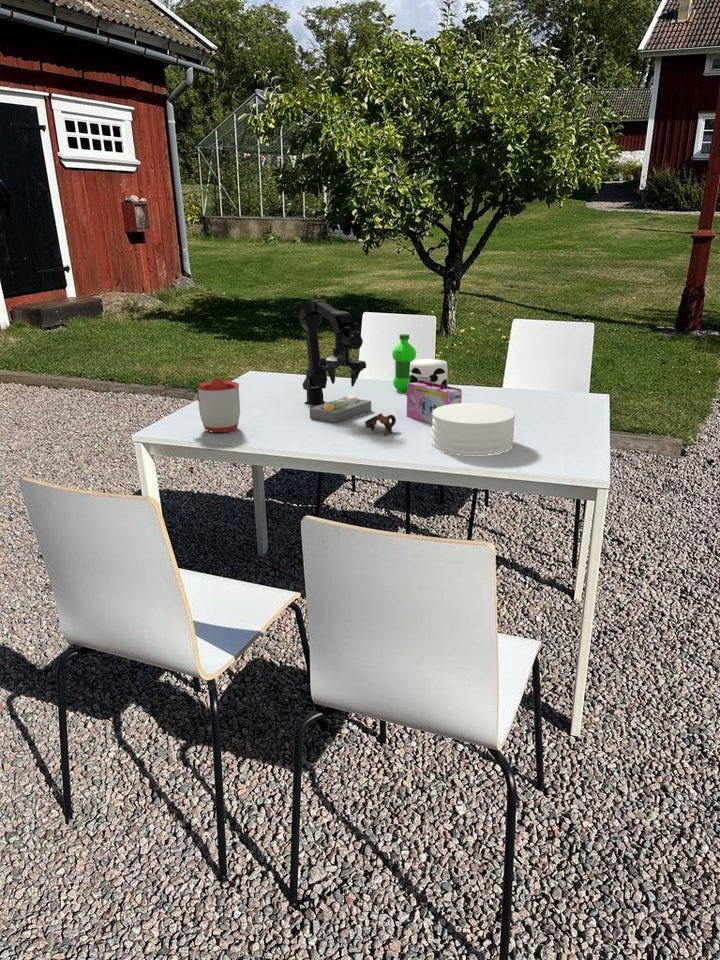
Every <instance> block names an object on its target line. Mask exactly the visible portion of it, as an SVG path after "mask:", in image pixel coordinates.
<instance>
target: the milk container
mask: <svg viewBox="0 0 720 960" xmlns="http://www.w3.org/2000/svg"><path fill="white" fill-rule="evenodd" d="M409 376H410V382H409V383H417V381H418V380H422V381H427V382H431V383H435V384H440V385H444V386H448V363H447V361H446V360H442V359H434V358H424V359H423V358H422V359H421V358H420V359H414V360H413V361H411V362H410V373H409Z"/></svg>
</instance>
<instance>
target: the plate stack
mask: <svg viewBox="0 0 720 960" xmlns="http://www.w3.org/2000/svg"><path fill="white" fill-rule="evenodd" d="M432 416H433V419H432V423H431V424H432V426H431V431H432V432H431V446H432V445H433V446H434V447H435V448H436V449H435V448H434V447H433V446H432V447H433V448H434V449H435V450H437V449H438V450H437V451H439V450H441V451H444V452H447V453H446V454H448V453H452V454H451V455H453V454H460V455H488V454H495V453H500V452H503V451H506V450H508V449H510V448H511V447H512V446H513V447H514V436H515V435H514V433H515V417H516V413H515V412H514V410H512V409H510V408H509V407H506V406H501V405H497V404H490V403H482V402H463V403H462V402H461V403H458V404H449V405H444V406H441V407H438V408H436V409H434V410H433V412H432ZM441 451H440V452H441ZM444 452H443V453H444Z"/></svg>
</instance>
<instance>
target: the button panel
mask: <svg viewBox="0 0 720 960" xmlns="http://www.w3.org/2000/svg"><path fill="white" fill-rule="evenodd" d="M347 397H348V396H344V397H342V398H338V399H335V400H332V401H328V402H324V403H321V404H318V405H315V406H313V407H310V408H309V419H310V418H312V419H311V420H316V419H317V420H316V421H321V420H322V422H326V423H327V422H328V423H334V424H339V423H341V422H344V421H346V420H349V419H352V418H355V417H358V416H361V415H363V413H364V414H366V413H369V412H372V400H366V399H361V398H357V402H355V403H350V402H347ZM336 400H346V406H344V407H339V406H336ZM324 404H334V405H335V410H332V411H328V410H324ZM360 414H361V415H360Z"/></svg>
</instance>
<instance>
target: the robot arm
mask: <svg viewBox="0 0 720 960" xmlns="http://www.w3.org/2000/svg"><path fill="white" fill-rule="evenodd" d="M322 316H323V317H324V318H325V319H327V320H329V323H330V325H331V326H332V327H333V330H332V331H331V333H334V348H333V349H332V354H331V353H330V355H329V356H324V357H321V354H320V345H319V335H318V328H319V327H320V324H321V317H322ZM298 318H299V323H300V325H301V326H302V328H303V330H304V331H305V339H306V341H305V342H306V349H307V358H308V367H307V370H306V372H305V379H304V380H303V382H302V383H301V384H302V388H303V390H306V401H304V404H306V403H307V405H313V406H319V405H322V404H325V403H326V401H325V400H324V392H323V389H326V388H327V383H328V376H329V379H330V381H331V384H333V385H334V384H335V382H336V373H337V372H336V370H337V368H339V367H340V366H342V367H349V368H350V370H349V372H350V375H351V376H350V383H351V387H354V386H355V385H356V382H357V379H358V377H359V375H360V373H361V372H362V371H363V370H364V369H367V363H366V361H365V360H354V361H352V357H351V356H350V354H351V353H350V352H351V351H352V350H359V349H360V348H361V347H362V346H363V342H364V340H363V337H362V336H361V335H360V334H359V331H358V330H357V329H358V328H357V325H356V323H355V321H354V319H353V316H352V314H351V313H350V312H348V311H345V310H337V309H336V308H334V307H333V306H331V305H330V304H328V303H326V302H325V301H324V300H322V299H319V300H313V301H311V302H310V303H309V304H307V305H305V306H303V308H301V309H300V311H299V312H298ZM327 374H328V376H327Z"/></svg>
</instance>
